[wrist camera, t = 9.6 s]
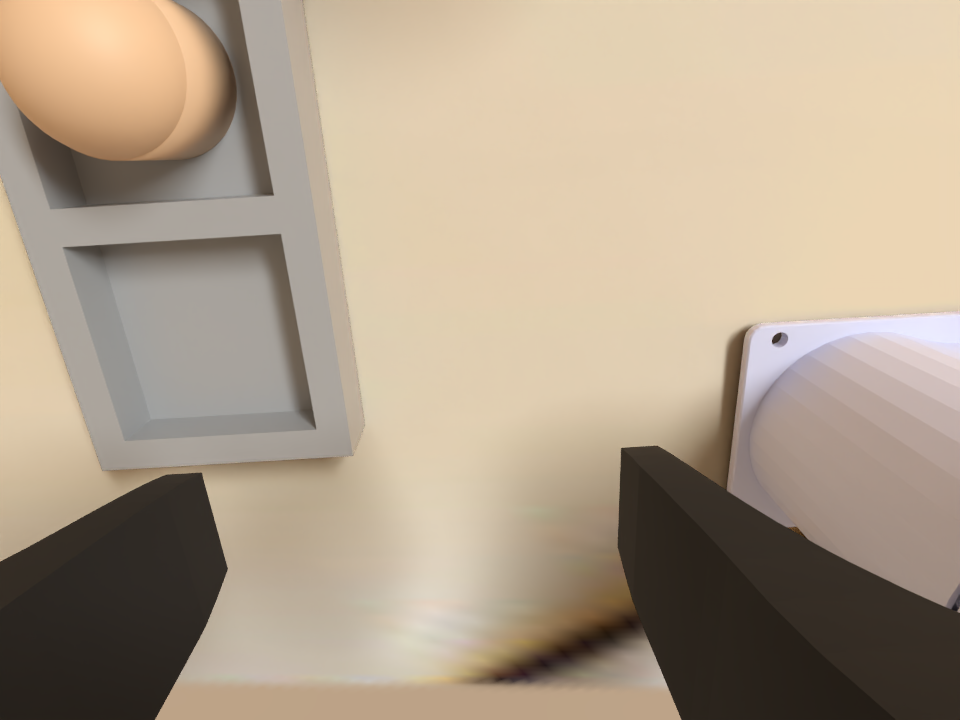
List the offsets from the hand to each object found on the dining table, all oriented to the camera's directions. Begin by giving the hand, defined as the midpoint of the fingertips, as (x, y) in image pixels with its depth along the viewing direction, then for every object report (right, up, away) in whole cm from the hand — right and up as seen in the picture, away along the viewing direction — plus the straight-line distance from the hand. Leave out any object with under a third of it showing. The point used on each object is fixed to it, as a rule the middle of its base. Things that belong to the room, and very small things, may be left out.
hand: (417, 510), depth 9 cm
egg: (-8, +10, +6) cm, 14 cm away
